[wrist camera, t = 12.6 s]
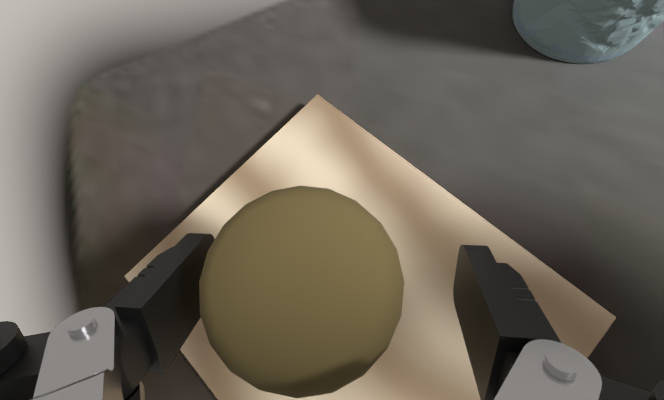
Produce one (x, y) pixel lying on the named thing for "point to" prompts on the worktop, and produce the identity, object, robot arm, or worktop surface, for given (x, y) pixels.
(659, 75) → the worktop surface
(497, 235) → the birch board
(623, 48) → the blue-grey cup
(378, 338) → the cork
